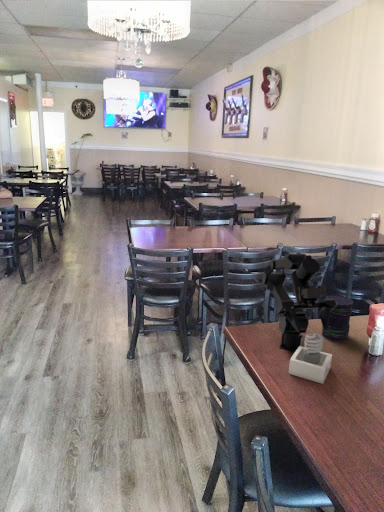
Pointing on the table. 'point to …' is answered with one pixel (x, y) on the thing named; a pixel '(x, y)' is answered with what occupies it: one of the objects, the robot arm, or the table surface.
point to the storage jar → (338, 319)
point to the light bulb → (313, 348)
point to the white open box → (310, 366)
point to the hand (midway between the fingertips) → (312, 331)
